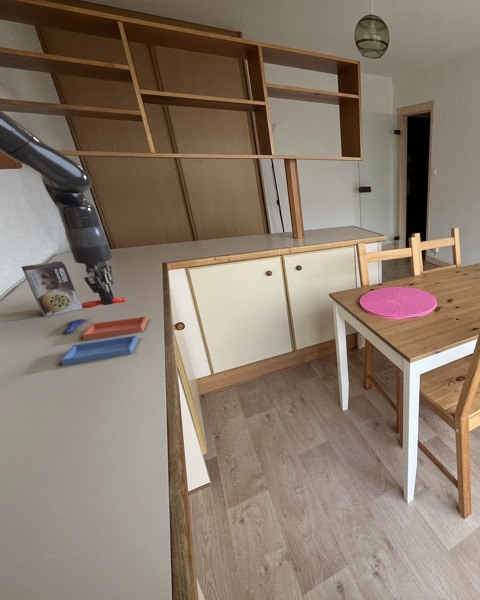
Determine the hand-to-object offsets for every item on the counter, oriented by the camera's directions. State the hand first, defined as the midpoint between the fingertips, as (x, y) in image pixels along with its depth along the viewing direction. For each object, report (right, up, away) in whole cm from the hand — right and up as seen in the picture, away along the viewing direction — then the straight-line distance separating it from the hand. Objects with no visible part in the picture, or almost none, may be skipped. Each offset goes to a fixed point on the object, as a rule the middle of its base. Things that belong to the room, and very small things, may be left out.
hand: (109, 302), depth 90 cm
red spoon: (-1, 0, 0) cm, 1 cm away
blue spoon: (-15, -8, +4) cm, 17 cm away
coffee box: (-30, -3, +15) cm, 34 cm away
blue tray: (+6, -13, -8) cm, 17 cm away
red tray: (-1, -9, +4) cm, 9 cm away
